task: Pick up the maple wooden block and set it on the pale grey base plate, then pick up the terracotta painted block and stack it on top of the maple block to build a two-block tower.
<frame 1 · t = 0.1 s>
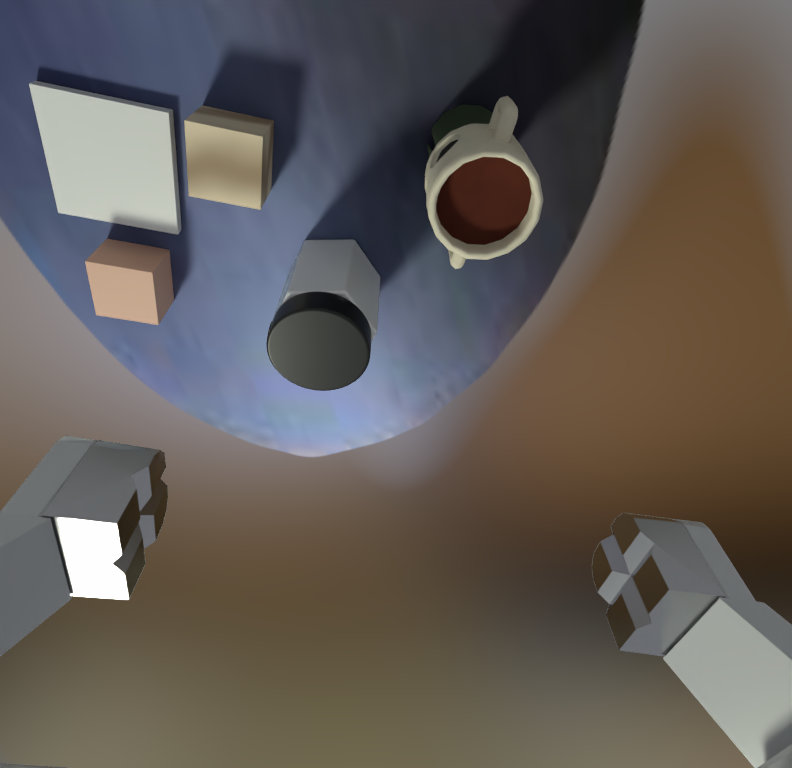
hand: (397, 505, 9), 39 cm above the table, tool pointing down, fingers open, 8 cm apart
maple block: (238, 149, 43), on the table
character mug: (465, 144, 42), on the table
base plate: (115, 161, 43), on the table
terracotta block: (142, 270, 50), on the table
jar: (334, 276, 50), on the table
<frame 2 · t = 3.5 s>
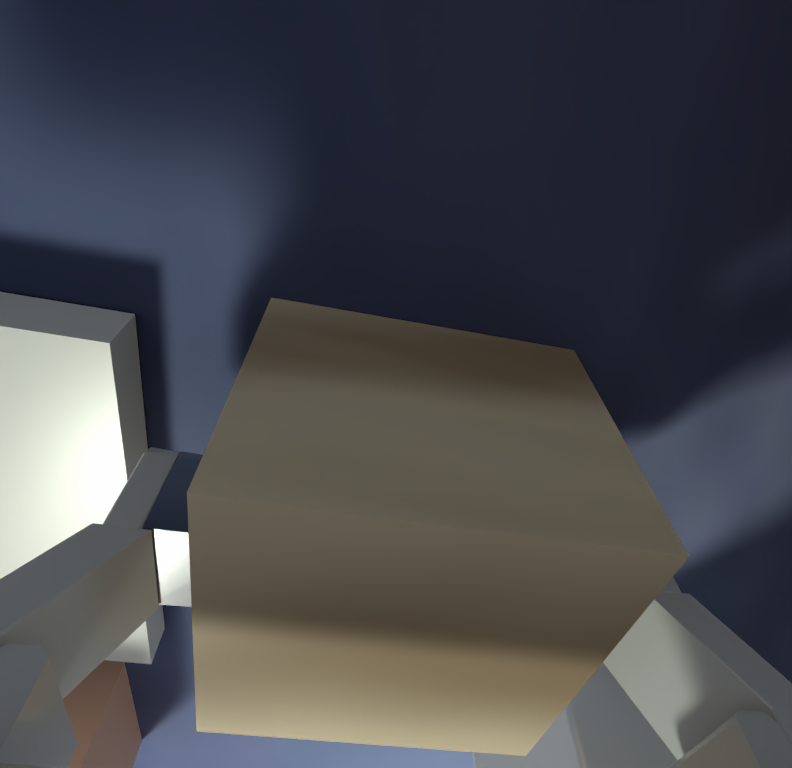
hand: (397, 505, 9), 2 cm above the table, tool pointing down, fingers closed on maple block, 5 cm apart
maple block: (397, 440, 11), on the table, touching gripper
terracotta block: (48, 693, 17), on the table
jar: (599, 695, 18), on the table
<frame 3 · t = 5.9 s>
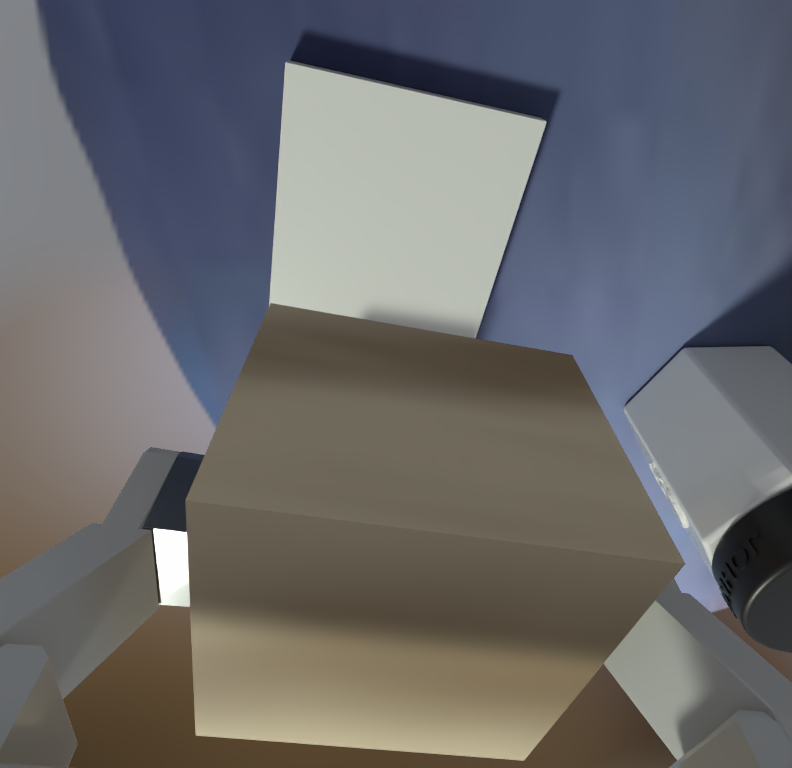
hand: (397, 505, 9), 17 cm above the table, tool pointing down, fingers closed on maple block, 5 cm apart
maple block: (396, 444, 11), point 15 cm above the table, touching gripper
base plate: (394, 216, 23), on the table
jar: (700, 402, 29), on the table
when the fingers open (4 cm above the table, at t = 8.6 s): maple block drops 1 cm, resting on base plate.
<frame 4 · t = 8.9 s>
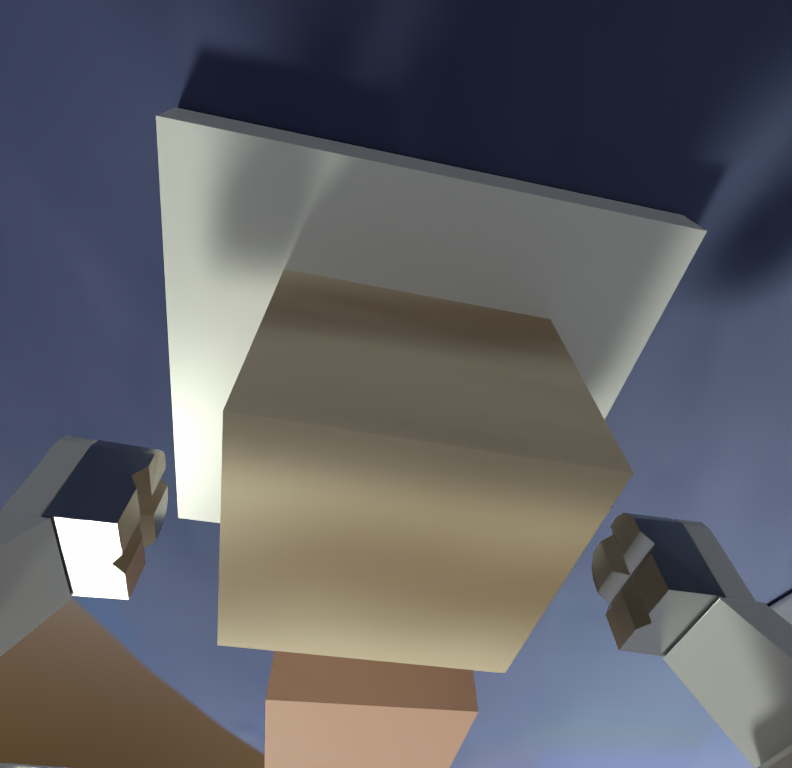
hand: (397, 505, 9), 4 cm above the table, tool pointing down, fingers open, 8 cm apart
maple block: (393, 402, 12), point 1 cm above the table, touching base plate
base plate: (394, 376, 13), on the table
terracotta block: (367, 606, 19), on the table
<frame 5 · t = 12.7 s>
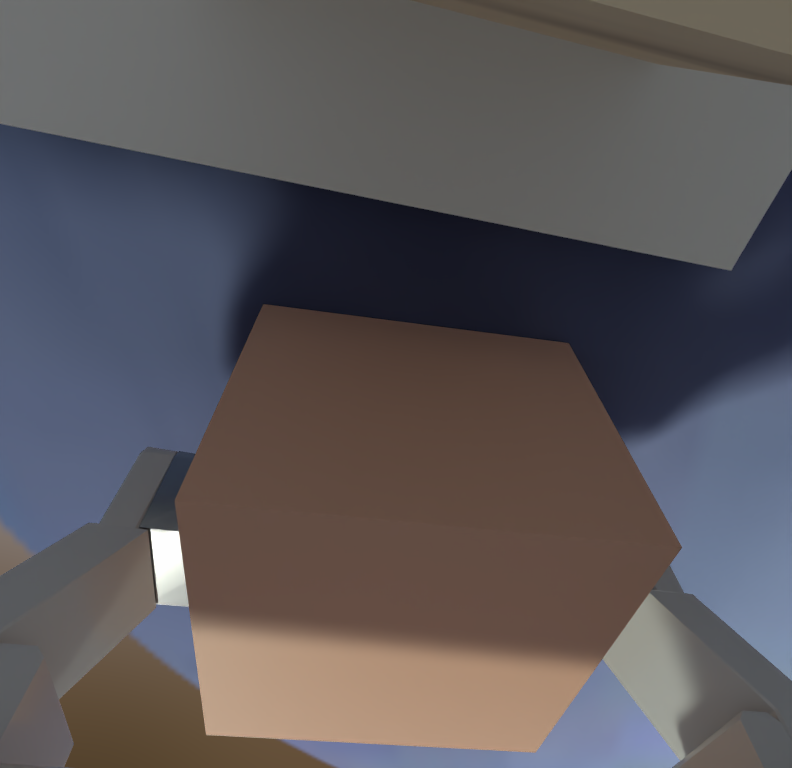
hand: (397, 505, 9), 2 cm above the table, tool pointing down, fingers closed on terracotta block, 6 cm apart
terracotta block: (397, 440, 11), on the table, touching gripper
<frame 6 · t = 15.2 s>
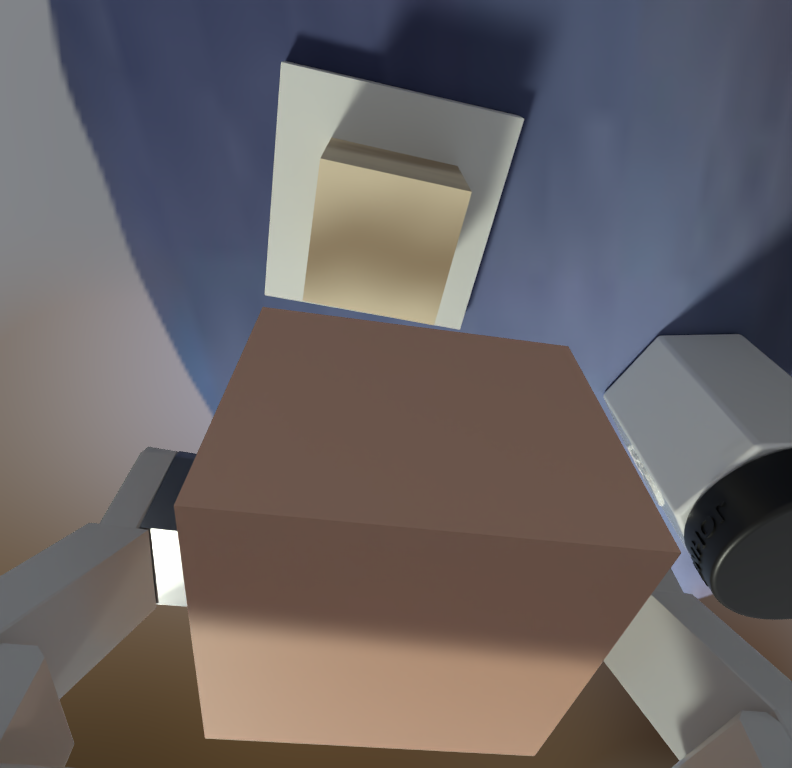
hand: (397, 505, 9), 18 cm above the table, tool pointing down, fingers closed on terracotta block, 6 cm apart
maple block: (382, 215, 24), point 1 cm above the table, touching base plate
base plate: (383, 208, 25), on the table
terracotta block: (396, 443, 11), point 17 cm above the table, touching gripper
jar: (676, 389, 31), on the table
when the fingers open (9 cm above the table, at t = 17.7 s): terracotta block drops 1 cm, resting on maple block.
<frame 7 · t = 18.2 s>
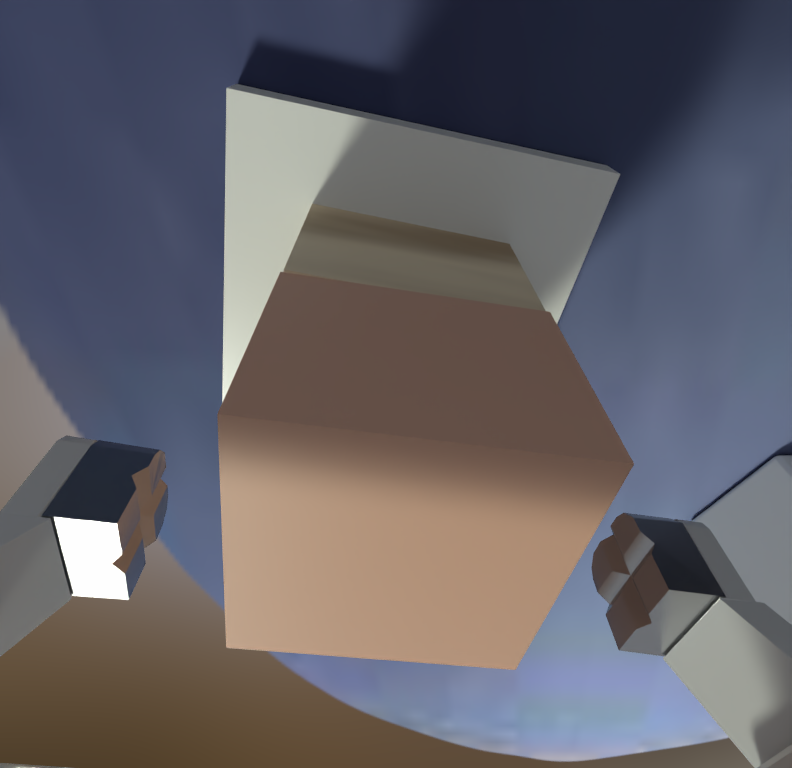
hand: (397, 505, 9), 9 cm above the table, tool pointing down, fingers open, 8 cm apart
maple block: (393, 313, 16), point 1 cm above the table, touching base plate, terracotta block
base plate: (393, 297, 17), on the table
terracotta block: (396, 401, 12), point 5 cm above the table, touching maple block
jar: (787, 514, 23), on the table
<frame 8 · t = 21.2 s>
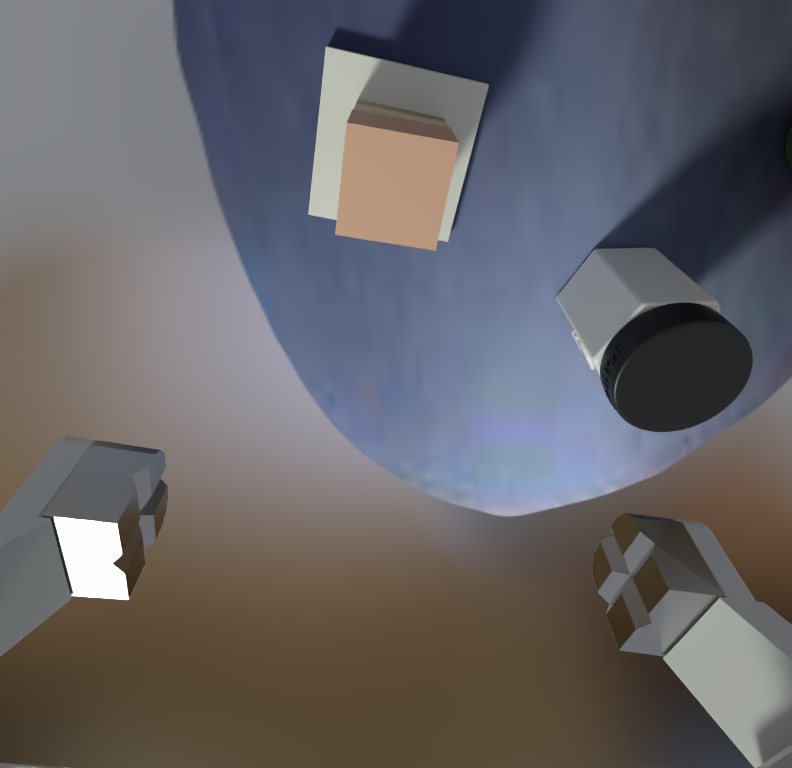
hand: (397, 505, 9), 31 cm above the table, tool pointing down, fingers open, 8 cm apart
maple block: (392, 154, 34), point 1 cm above the table, touching base plate, terracotta block
base plate: (392, 150, 35), on the table
terracotta block: (393, 170, 30), point 5 cm above the table, touching maple block
jar: (611, 294, 41), on the table
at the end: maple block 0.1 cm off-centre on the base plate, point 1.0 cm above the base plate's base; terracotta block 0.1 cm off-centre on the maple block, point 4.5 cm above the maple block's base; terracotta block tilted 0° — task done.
